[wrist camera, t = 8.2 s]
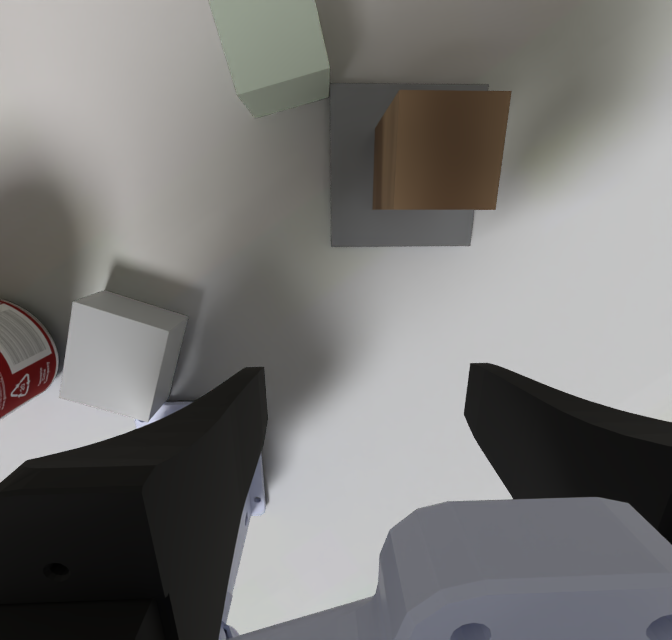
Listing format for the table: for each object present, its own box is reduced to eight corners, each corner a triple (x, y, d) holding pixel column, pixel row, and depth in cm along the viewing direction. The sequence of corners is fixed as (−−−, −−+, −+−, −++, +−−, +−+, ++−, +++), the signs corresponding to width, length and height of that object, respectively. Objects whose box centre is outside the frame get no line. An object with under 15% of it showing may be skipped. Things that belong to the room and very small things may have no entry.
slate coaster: (466, 244, 20) (470, 245, 20) (331, 245, 20) (331, 246, 20) (483, 88, 18) (488, 84, 17) (329, 87, 18) (330, 83, 17)
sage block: (328, 97, 18) (330, 67, 14) (255, 118, 18) (236, 95, 14) (307, 5, 17) (302, -55, 13) (228, 29, 17) (201, -23, 13)
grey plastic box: (170, 396, 23) (147, 422, 20) (93, 374, 22) (59, 397, 20) (189, 315, 21) (168, 331, 18) (107, 289, 21) (72, 301, 18)
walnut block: (372, 209, 19) (393, 209, 13) (374, 128, 18) (399, 89, 12) (443, 209, 19) (495, 209, 13) (451, 128, 18) (511, 91, 12)
